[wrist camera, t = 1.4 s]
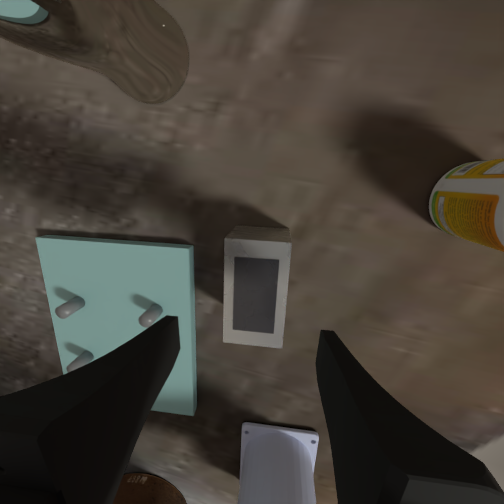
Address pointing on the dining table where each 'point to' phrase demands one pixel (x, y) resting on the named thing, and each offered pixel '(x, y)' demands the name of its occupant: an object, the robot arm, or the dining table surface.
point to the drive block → (256, 285)
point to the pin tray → (121, 303)
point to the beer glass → (105, 40)
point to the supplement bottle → (471, 203)
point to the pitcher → (146, 491)
